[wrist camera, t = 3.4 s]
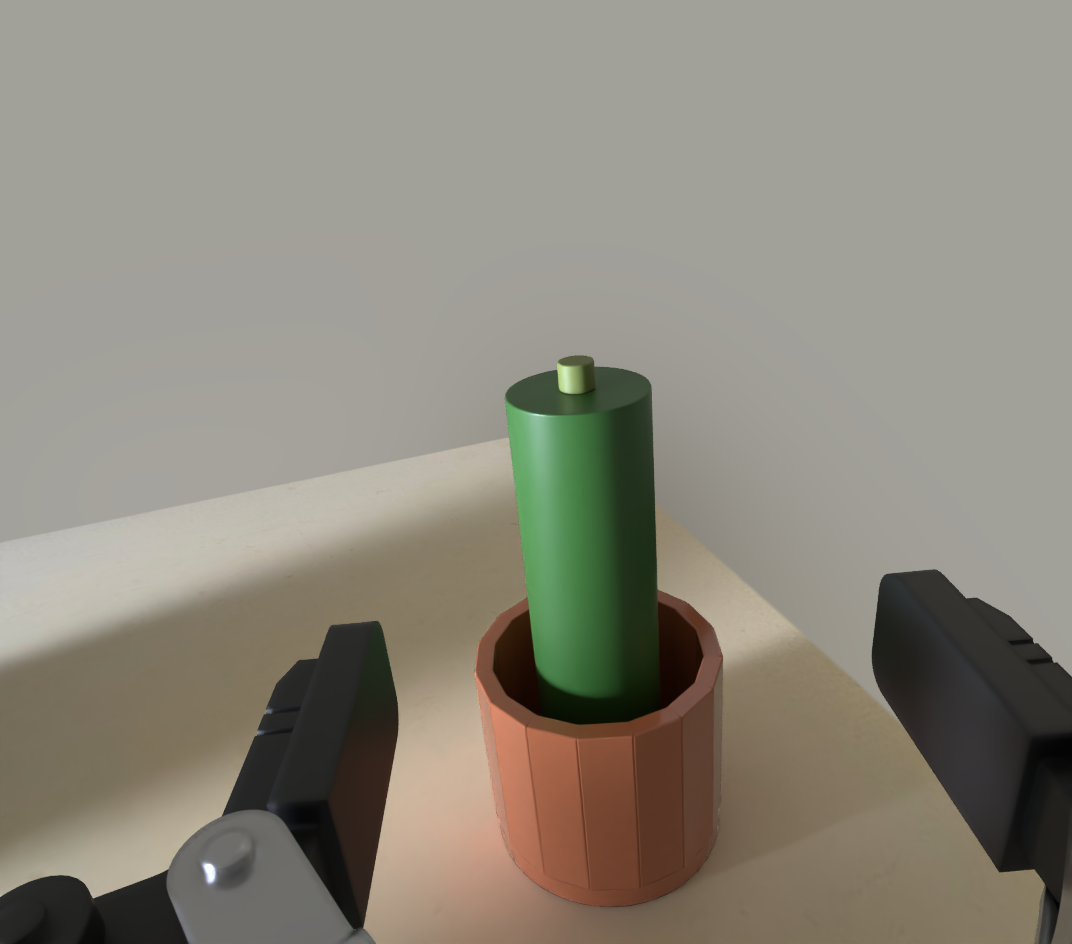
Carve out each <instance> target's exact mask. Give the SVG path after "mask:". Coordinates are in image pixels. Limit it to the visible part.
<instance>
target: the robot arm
mask: <svg viewBox="0 0 1072 944" xmlns="http://www.w3.org/2000/svg"><path fill="white" fill-rule="evenodd" d="M872 666H873V671H874V675H875V679H876V682H877V684H878V687H879V689H880V691H881V693H882V695H883V696H884V698H885V699H886V701H887V702H888V704H889V705H890V707H891V708H892V710H893V711H894V713H895V714H896V716H897V717H898V719H899V720H900V722H901V723H902V725H903V727H904V728H905V730H906V731H907V733H908V734H909V736H910V737H911V739H912V740H913V742H914V743H915V745H916V746H917V748H918V749H919V751H920V752H921V754H922V755H923V757H924V758H925V760H926V762H927V763H928V765H929V766H930V768H931V769H932V771H933V772H934V774H935V775H936V777H937V778H938V780H939V781H940V783H941V784H942V786H943V787H944V789H945V790H946V792H947V794H948V795H949V797H950V798H951V800H952V801H953V803H954V804H955V806H956V807H957V809H958V810H959V812H960V813H961V815H962V816H963V818H964V819H965V821H966V822H967V824H968V825H969V827H970V829H971V830H972V832H973V833H974V835H975V836H976V838H977V839H978V841H979V842H980V844H981V845H982V847H983V848H984V850H985V851H986V853H987V854H988V856H989V857H990V859H991V861H992V862H993V864H994V865H995V867H996V868H997V870H998V871H999V872H1010V871H1021V870H1031V869H1035V871H1036V872H1037V873H1038V875H1039V876H1040V878H1041V879H1042V880H1043V882H1044V883H1045V884H1044V888H1043V892H1042V895H1041V899H1040V905H1039V913H1038V920H1037V928H1036V936H1035V944H1072V677H1071V676H1070V675H1069V674H1068V673H1067V672H1066V671H1065V670H1064V669H1063V668H1062V667H1061V666H1060V665H1059V664H1058V663H1053V661H1052V657H1051V656H1050V655H1049V654H1048V653H1047V652H1046V651H1045V650H1044V649H1043V648H1042V647H1041V646H1040V645H1039V644H1037V643H1035V644H1034V642H1033V638H1032V637H1031V636H1030V635H1029V634H1028V633H1027V632H1025V630H1024V629H1023V628H1021V627H1020V626H1019V625H1018V624H1017V623H1016V622H1015V621H1014V620H1013V619H1012V618H1011V617H1010V616H1009V615H1007V614H1005V613H1003V612H1002V611H1000V610H998V609H996V608H994V607H992V606H991V605H989V604H987V603H985V602H983V601H982V600H980V599H978V598H967V599H966V598H965V597H964V596H963V595H962V594H961V593H960V592H959V590H958V589H957V588H956V587H955V586H954V585H953V584H952V583H951V582H949V580H948V579H947V578H946V577H945V576H944V575H943V574H942V573H941V572H939V571H938V570H934V569H933V570H923V571H912V572H903V573H892V574H886V575H884V577H883V578H882V580H881V582H880V587H879V595H878V603H877V612H876V621H875V629H874V638H873V646H872ZM397 736H398V702H397V696H396V691H395V686H394V681H393V677H392V672H391V667H390V662H389V658H388V653H387V648H386V644H385V639H384V634H383V630H382V627H381V625H380V623H379V622H378V621H371V622H361V623H350V624H340V625H332V626H330V628H329V630H328V632H327V635H326V638H325V641H324V643H323V646H322V649H321V652H320V655H319V658H318V659H308V660H299V661H298V662H297V663H296V664H295V665H294V666H293V667H292V668H291V669H290V670H289V671H288V672H287V673H286V674H285V675H284V676H283V677H282V678H281V679H280V681H279V682H278V683H277V684H276V686H275V688H274V691H273V693H272V696H271V698H270V701H269V703H268V705H267V708H266V714H264V715H263V718H262V720H261V722H260V725H259V727H258V730H257V736H255V737H254V740H253V742H252V744H251V747H250V749H249V752H248V754H247V757H246V759H245V761H244V764H243V766H242V769H241V771H240V774H239V776H238V778H237V781H236V783H235V786H234V788H233V791H232V793H231V795H230V798H229V800H228V803H227V805H226V808H225V810H224V812H223V815H222V817H220V818H218V819H216V820H214V821H212V822H210V823H209V824H207V825H205V826H204V827H202V828H201V829H200V830H198V831H197V832H196V833H195V834H193V835H192V836H191V837H190V838H189V839H188V840H187V841H186V842H185V843H184V844H183V846H182V847H181V848H180V849H179V851H178V852H177V854H176V855H175V857H174V859H173V860H172V863H171V865H170V867H169V869H168V870H166V871H164V872H163V873H160V874H158V875H155V876H153V877H151V878H148V879H145V880H143V881H140V882H137V883H134V884H132V885H129V886H126V887H123V888H121V889H118V890H115V891H112V892H110V893H107V894H104V895H102V896H99V897H96V898H92V896H91V894H90V892H89V890H88V888H87V887H86V885H85V884H84V883H83V882H82V881H80V880H79V879H77V878H74V877H71V876H63V875H58V876H49V877H44V878H40V879H37V880H34V881H31V882H28V883H26V884H23V885H21V886H19V887H17V888H15V889H13V890H11V891H10V892H8V893H6V894H4V895H3V896H1V897H0V944H376V943H375V942H374V940H373V939H372V937H371V936H370V935H369V934H368V932H367V931H366V930H365V929H364V928H363V927H364V922H365V916H366V910H367V905H368V899H369V894H370V888H371V882H372V877H373V871H374V866H375V860H376V854H377V849H378V843H379V838H380V832H381V826H382V821H383V815H384V810H385V804H386V798H387V793H388V787H389V781H390V776H391V770H392V765H393V759H394V753H395V748H396V742H397ZM354 929H356V930H354Z"/></svg>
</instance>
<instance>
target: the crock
mask: <svg viewBox="0 0 1072 944" xmlns="http://www.w3.org/2000/svg"><path fill="white" fill-rule="evenodd" d="M657 591H658V625H659V659H660V692H661V710H658V711H655V712H653V713H650V714H647V715H645V716H642V717H639V718H637V719H634V720H631V721H629V722H616V723H600V724H584V725H577V724H573V723H569V722H564V721H560V720H556V719H552V718H547V717H543V716H541V709H540V700H539V692H538V683H537V674H536V665H535V657H534V648H533V639H532V631H531V622H530V613H529V605H528V597H527V598H526V599H524V600H522V601H521V602H519V603H518V604H516V605H514V606H513V607H511V608H510V609H508V610H506V611H505V612H503V613H502V614H500V615H499V616H498V617H497V618H496V620H495V621H494V622H493V624H492V625H491V626H490V628H489V629H488V630H487V632H486V633H485V634H484V636H483V637H482V638H481V640H480V641H479V643H478V648H477V655H476V663H475V671H474V675H475V681H476V687H477V694H478V700H479V706H480V713H481V719H482V725H483V732H484V738H485V744H486V751H487V757H488V763H489V770H490V776H491V782H492V789H493V795H494V801H495V808H496V814H497V816H498V818H499V821H500V826H501V832H502V836H503V839H504V842H505V845H506V847H507V849H508V851H509V853H510V855H511V857H512V858H513V860H514V861H515V862H516V864H517V865H518V866H519V868H520V869H521V870H522V871H523V872H524V873H525V874H526V875H527V876H528V877H529V878H530V879H531V880H533V881H534V882H535V883H537V884H538V885H539V886H541V887H542V888H544V889H546V890H547V891H549V892H551V893H553V894H555V895H557V896H559V897H562V898H564V899H567V900H570V901H573V902H577V903H581V904H585V905H593V906H600V907H619V906H628V905H635V904H639V903H643V902H647V901H650V900H653V899H655V898H658V897H661V896H663V895H665V894H667V893H669V892H671V891H672V890H674V889H676V888H678V887H679V886H680V885H682V884H683V883H684V882H686V881H687V880H688V879H689V878H690V877H691V876H692V875H693V874H694V873H695V872H696V871H697V870H698V869H699V868H700V867H701V865H702V864H703V863H704V861H705V860H706V859H707V857H708V855H709V853H710V851H711V849H712V847H713V845H714V842H715V839H716V836H717V831H718V825H719V808H720V804H721V780H722V707H723V655H722V652H721V649H720V646H719V643H718V639H717V636H716V633H715V630H714V628H713V627H712V625H711V624H710V623H709V622H708V621H707V620H706V619H704V618H703V617H702V616H701V615H700V614H699V613H698V612H697V611H696V610H695V609H694V608H693V607H692V606H691V605H689V604H688V603H687V602H685V601H683V600H680V599H678V598H676V597H673V596H671V595H669V594H666V593H664V592H662V591H659V590H657Z"/></svg>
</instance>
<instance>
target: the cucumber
mask: <svg viewBox="0 0 1072 944" xmlns="http://www.w3.org/2000/svg"><path fill="white" fill-rule="evenodd" d="M651 391H652V390H651V384H650V382H649V380H648V379H647V378H646V377H644V376H642V375H640V374H638V373H635V372H632V371H628V370H624V369H618V368H609V367H594V360H593V358H591V357H588V356H570V357H566V358H562V359H560V360H559V361H558V362H557V370H553V371H548V372H544V373H540V374H537V375H534V376H531V377H528V378H525V379H523V380H521V381H519V382H517V383H516V384H514V385H513V386H511V387H510V388H509V389H508V390H507V392H506V394H505V404H506V413H507V422H508V430H509V439H510V448H511V457H512V466H513V474H514V483H515V492H516V500H517V509H518V518H519V526H520V535H521V544H522V552H523V561H524V570H525V579H526V587H527V596H528V605H529V613H530V622H531V631H532V639H533V648H534V657H535V665H536V674H537V683H538V692H539V700H540V709H541V716H543V717H547V718H552V719H556V720H560V721H564V722H569V723H573V724H577V725H584V724H600V723H616V722H629V721H631V720H634V719H637V718H639V717H642V716H645V715H647V714H650V713H653V712H655V711H658V710H661V692H660V659H659V625H658V591H657V558H656V524H655V491H654V458H653V425H652V392H651Z"/></svg>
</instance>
